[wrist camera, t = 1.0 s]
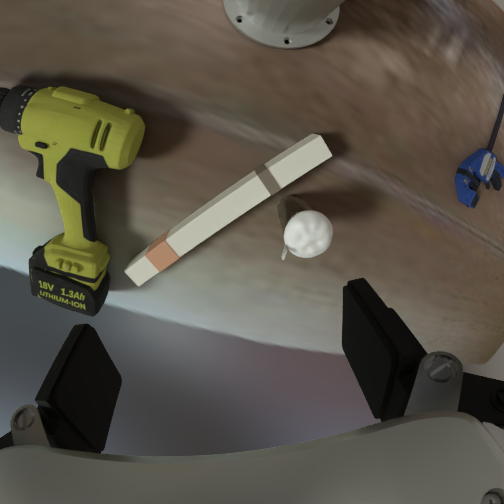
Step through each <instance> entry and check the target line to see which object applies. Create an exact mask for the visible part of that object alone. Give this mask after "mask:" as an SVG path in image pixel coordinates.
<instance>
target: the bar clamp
mask: <svg viewBox="0 0 504 504" xmlns="http://www.w3.org/2000/svg"><path fill="white" fill-rule="evenodd" d="M503 113H504V95H503V99H502V103H501V107H500V110H499V114H498V117H497V121H496V124H495V127H494V130H493V133H492V136H491V139H490V142H489V145H488V148H487V150H486V149H481V148H480V149H479V150H478V151H476V152H475V153H474V154H472V155H471V156H470V157H468V158H467V159H466V160H465V161H463V162H462V164H461V166H460V167H459V168H458V170H457V173H456V177H455V183H456V189H457V194H458V199H459V201H460V202H461V203H463V204H465V205H466V206H467V207H471V208H475V206H476V204H477V202H478V200H479V196H478V195H477V193H476V190H477V188H479V185H480V181H483V182H485V185H486V189H488V190H489V188H490V186H489V181H490V179H491V182H492V184H493V187H494V189H495V190H498V191H499V190H500V188H501V186H502V183H501V181H500V178H499V177H497V176H496V175H495V174H494V170H496V171H497V172H498V174H499V175H500V177H501V178H503V177H504V167H503V165H502V164H500V163H499V162H497V161H496V159H497V158H496V156H495V155H494V154H493V153H491V151H492V148H493V146H494V143H495V140H496V137H497V133H498V130H499V127H500V124H501V120H502V117H503ZM469 187H470V188H472V189H470V188H469Z"/></svg>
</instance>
